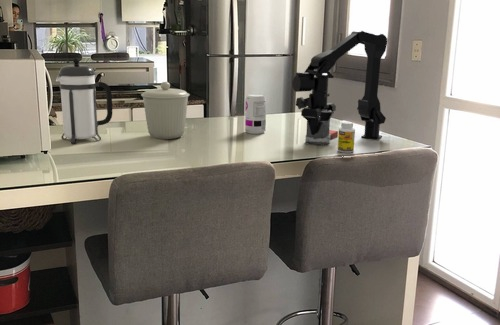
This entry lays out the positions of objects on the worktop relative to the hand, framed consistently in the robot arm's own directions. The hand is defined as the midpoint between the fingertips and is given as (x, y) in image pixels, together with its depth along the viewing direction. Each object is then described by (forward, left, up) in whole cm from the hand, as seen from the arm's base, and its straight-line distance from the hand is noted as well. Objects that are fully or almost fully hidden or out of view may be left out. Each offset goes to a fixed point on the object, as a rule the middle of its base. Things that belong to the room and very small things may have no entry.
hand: (318, 132), depth 203 cm
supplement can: (-4, -29, -4) cm, 30 cm away
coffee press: (+44, -75, -4) cm, 87 cm away
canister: (+23, -53, -4) cm, 58 cm away
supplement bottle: (+8, +14, -4) cm, 17 cm away
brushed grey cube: (0, 0, -1) cm, 1 cm away
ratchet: (-6, 0, -4) cm, 7 cm away
